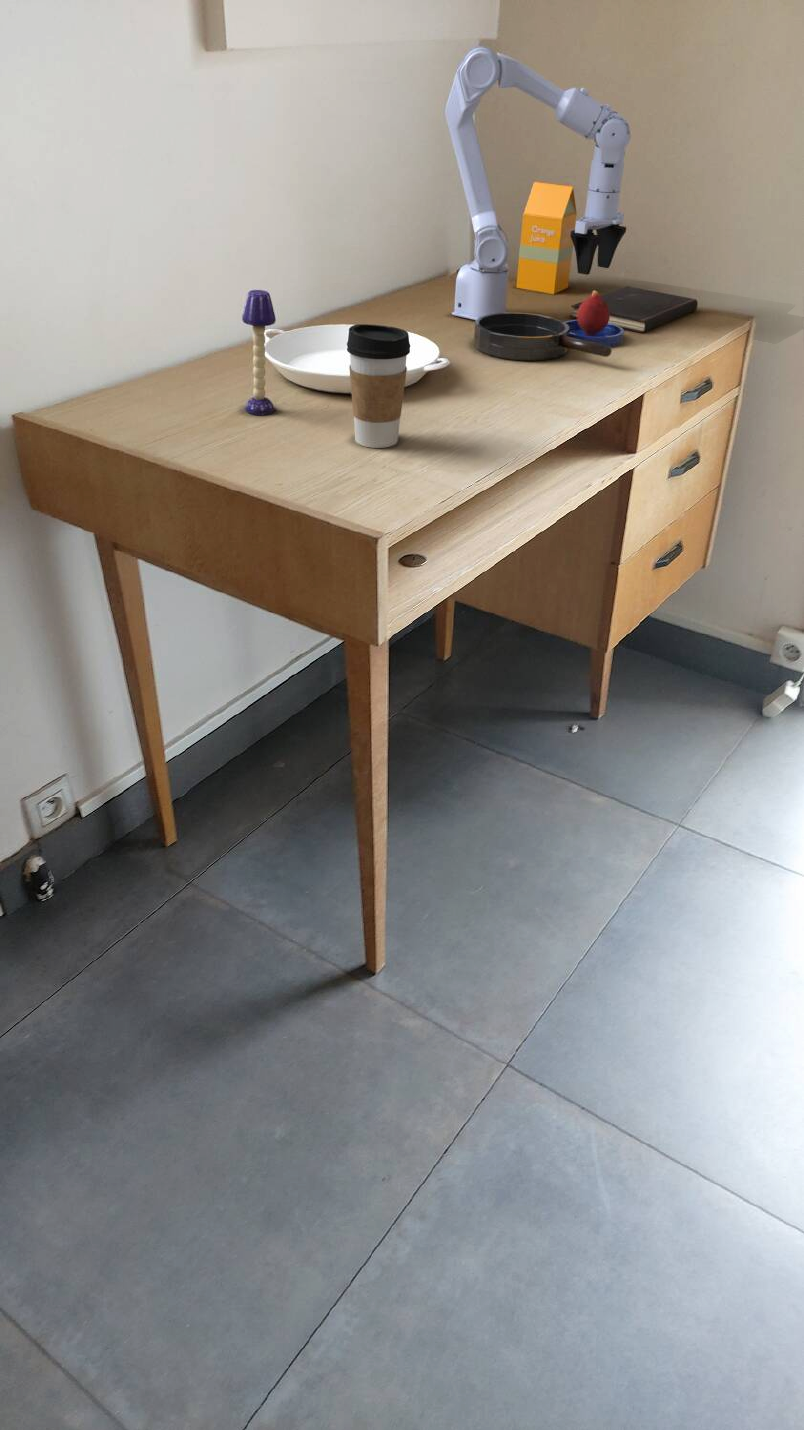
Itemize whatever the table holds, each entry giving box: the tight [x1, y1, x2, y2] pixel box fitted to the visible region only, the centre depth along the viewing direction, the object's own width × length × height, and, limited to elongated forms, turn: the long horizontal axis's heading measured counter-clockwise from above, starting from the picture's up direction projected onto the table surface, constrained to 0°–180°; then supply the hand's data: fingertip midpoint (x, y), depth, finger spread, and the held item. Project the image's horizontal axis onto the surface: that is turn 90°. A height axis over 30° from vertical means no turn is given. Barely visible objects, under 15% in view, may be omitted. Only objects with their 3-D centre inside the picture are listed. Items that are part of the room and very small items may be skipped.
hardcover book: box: [569, 285, 699, 334], centre depth 207 cm, size 16×23×2 cm
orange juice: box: [516, 180, 578, 295], centre depth 218 cm, size 8×9×20 cm
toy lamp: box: [241, 289, 276, 416], centre depth 149 cm, size 5×5×17 cm
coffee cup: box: [347, 323, 410, 449], centre depth 141 cm, size 8×8×15 cm
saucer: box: [564, 319, 625, 348], centre depth 192 cm, size 12×12×2 cm
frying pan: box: [473, 311, 570, 362], centre depth 184 cm, size 16×16×4 cm
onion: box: [576, 290, 609, 336], centre depth 190 cm, size 6×6×8 cm
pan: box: [264, 323, 451, 395], centre depth 169 cm, size 34×28×4 cm
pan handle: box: [559, 336, 613, 358], centre depth 178 cm, size 10×2×2 cm, turn 52°
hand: (593, 270), depth 196 cm, fingers open, 7 cm apart
